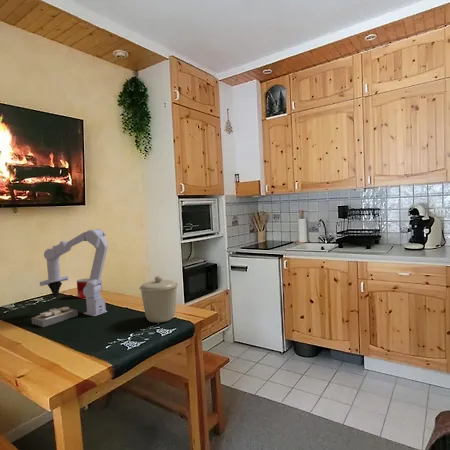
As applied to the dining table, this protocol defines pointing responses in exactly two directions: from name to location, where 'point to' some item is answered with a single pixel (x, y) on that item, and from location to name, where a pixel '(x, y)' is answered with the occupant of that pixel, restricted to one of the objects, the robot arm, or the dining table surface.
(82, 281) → the canned food
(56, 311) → the switch
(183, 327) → the dining table surface
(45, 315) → the switch
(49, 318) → the switch unit
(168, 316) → the canister
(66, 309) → the switch
